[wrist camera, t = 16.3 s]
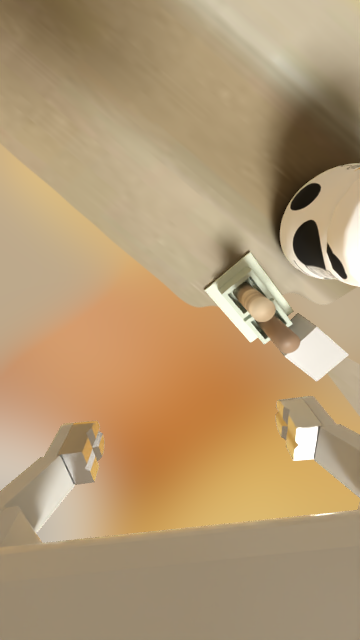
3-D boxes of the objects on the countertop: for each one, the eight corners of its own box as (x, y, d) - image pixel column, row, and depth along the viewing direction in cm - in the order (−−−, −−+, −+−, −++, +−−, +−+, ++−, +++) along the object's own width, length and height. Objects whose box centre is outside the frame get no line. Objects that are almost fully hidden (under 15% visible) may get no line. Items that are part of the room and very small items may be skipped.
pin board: (204, 289, 46) (215, 312, 35) (249, 252, 44) (276, 262, 32) (249, 341, 51) (272, 376, 40) (292, 310, 49) (329, 337, 37)
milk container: (370, 157, 38) (520, 107, 22) (366, 259, 45) (478, 280, 29) (267, 188, 40) (335, 164, 23) (278, 283, 46) (336, 316, 30)
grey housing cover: (270, 339, 51) (284, 356, 45) (297, 313, 49) (316, 326, 43) (299, 362, 54) (316, 381, 48) (326, 338, 52) (348, 354, 45)
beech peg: (229, 289, 46) (247, 310, 35) (243, 277, 45) (266, 294, 34) (239, 302, 47) (260, 326, 36) (254, 291, 46) (280, 311, 35)
